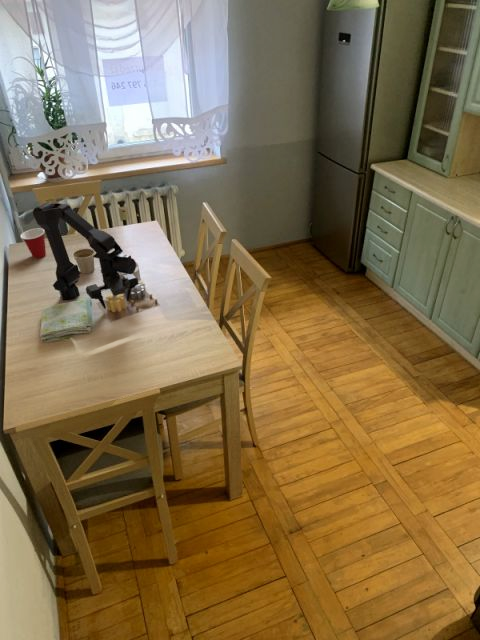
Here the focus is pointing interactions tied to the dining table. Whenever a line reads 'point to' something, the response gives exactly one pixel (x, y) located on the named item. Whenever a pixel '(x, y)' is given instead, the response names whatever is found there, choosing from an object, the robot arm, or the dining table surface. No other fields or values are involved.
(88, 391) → the dining table surface
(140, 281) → the small gear
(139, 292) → the gear
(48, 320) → the towel
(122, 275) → the grey paw block
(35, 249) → the plastic cup
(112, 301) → the loose gear
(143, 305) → the board
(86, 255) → the flower pot
